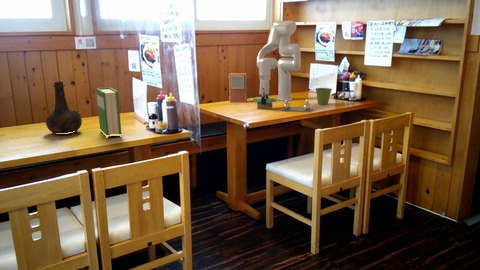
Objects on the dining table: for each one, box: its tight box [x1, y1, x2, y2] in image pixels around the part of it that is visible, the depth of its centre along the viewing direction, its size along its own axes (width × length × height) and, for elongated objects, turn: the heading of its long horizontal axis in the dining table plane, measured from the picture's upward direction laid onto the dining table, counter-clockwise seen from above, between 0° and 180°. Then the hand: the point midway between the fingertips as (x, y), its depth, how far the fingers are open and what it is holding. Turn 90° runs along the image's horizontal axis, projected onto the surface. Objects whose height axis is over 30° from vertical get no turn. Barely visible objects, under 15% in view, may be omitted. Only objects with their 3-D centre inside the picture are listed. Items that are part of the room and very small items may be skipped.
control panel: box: [227, 72, 249, 104], centre depth 316 cm, size 21×7×15 cm
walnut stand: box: [256, 102, 273, 110], centre depth 289 cm, size 3×10×5 cm, turn 73°
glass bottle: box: [45, 80, 83, 134], centre depth 225 cm, size 18×18×28 cm
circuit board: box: [252, 97, 278, 104], centre depth 288 cm, size 7×16×2 cm, turn 73°
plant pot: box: [315, 87, 333, 106], centre depth 302 cm, size 12×12×11 cm
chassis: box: [279, 99, 314, 113], centre depth 283 cm, size 12×20×7 cm, turn 73°
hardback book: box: [95, 87, 122, 135], centre depth 221 cm, size 18×7×24 cm, turn 29°
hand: (264, 103), depth 289 cm, fingers closed on circuit board, 7 cm apart
